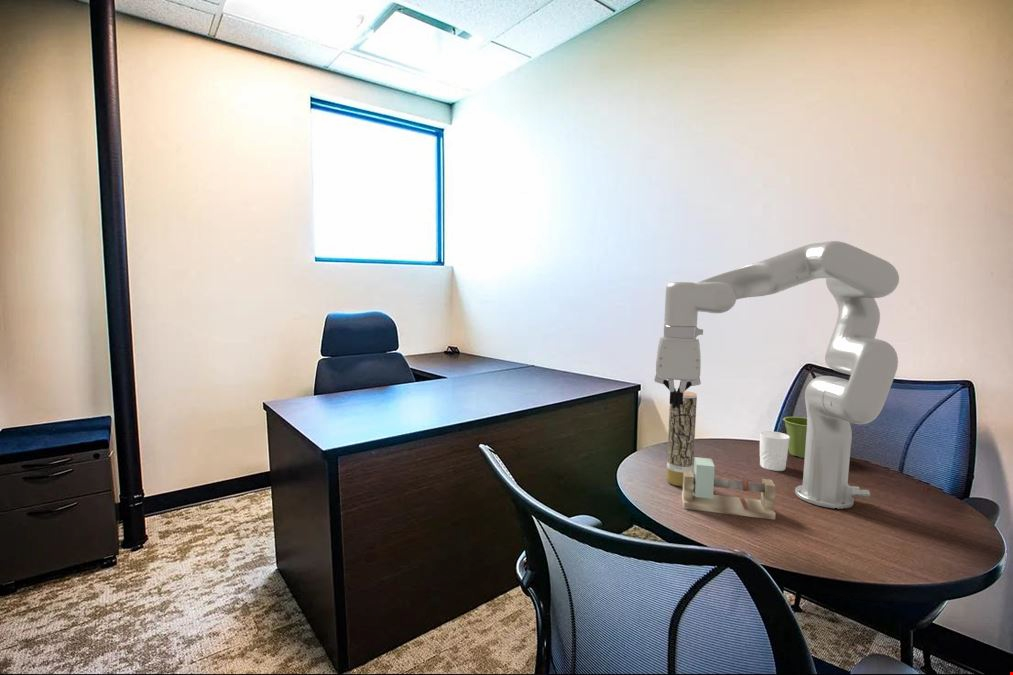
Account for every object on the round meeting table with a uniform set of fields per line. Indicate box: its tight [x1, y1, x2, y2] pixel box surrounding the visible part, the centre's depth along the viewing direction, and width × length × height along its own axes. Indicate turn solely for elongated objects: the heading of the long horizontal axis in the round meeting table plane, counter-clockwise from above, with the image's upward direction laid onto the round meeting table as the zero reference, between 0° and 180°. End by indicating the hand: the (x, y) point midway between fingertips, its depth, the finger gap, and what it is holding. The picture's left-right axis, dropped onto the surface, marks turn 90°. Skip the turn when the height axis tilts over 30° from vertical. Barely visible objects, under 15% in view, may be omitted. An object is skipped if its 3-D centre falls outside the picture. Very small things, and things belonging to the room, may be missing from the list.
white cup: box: [759, 430, 790, 472], centre depth 146 cm, size 8×8×10 cm
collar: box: [693, 456, 715, 499], centre depth 120 cm, size 4×6×8 cm
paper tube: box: [666, 390, 698, 488], centre depth 133 cm, size 7×7×25 cm
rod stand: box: [681, 471, 776, 520], centre depth 119 cm, size 20×7×8 cm, turn 74°
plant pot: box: [782, 416, 807, 459], centre depth 157 cm, size 12×12×11 cm
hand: (675, 407), depth 120 cm, fingers closed
